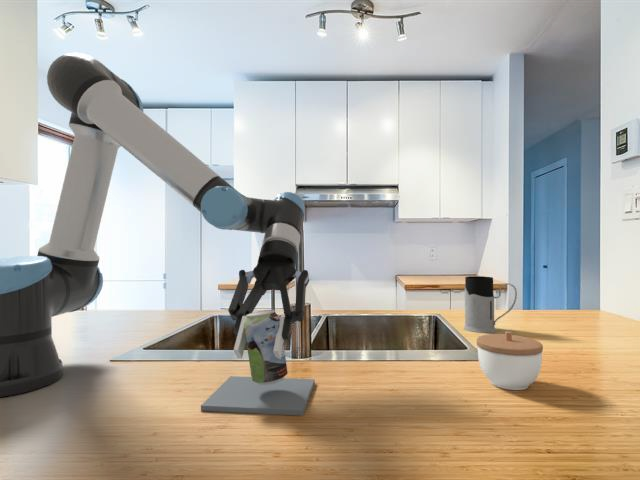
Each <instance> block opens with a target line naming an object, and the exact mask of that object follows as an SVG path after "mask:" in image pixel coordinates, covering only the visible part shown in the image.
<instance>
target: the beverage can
mask: <svg viewBox="0 0 640 480" xmlns="http://www.w3.org/2000/svg"><path fill="white" fill-rule="evenodd" d="M279 317H280V316H279V315H278V314H277V312H276V310H275V309H267V310H259V311H253V312H252V313H250V314H247V315H246V320H245V322H244V328H245V335H246V347H247V355H248V361H249V370H250V377H252V381H254V382H257V384H259V385H269V384H274V383H277V382H279V381H281V380H283V379H284V378H285V377H286V376H287V375H288V364H287V360H286V353H285V347H284V346H285V345H284V343H283V344H282V352H281V360H280V359H278V358H276V357H275V355H274V352H273V350H274V344H275V339H276V335H277V333H278V330H279V325H280V318H279Z"/></svg>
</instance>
